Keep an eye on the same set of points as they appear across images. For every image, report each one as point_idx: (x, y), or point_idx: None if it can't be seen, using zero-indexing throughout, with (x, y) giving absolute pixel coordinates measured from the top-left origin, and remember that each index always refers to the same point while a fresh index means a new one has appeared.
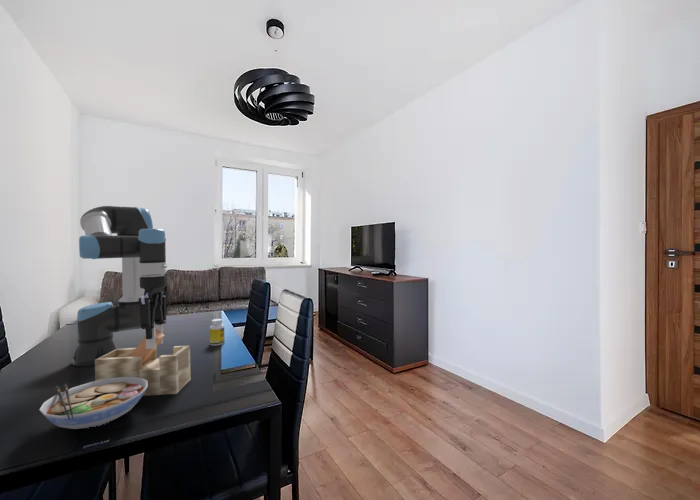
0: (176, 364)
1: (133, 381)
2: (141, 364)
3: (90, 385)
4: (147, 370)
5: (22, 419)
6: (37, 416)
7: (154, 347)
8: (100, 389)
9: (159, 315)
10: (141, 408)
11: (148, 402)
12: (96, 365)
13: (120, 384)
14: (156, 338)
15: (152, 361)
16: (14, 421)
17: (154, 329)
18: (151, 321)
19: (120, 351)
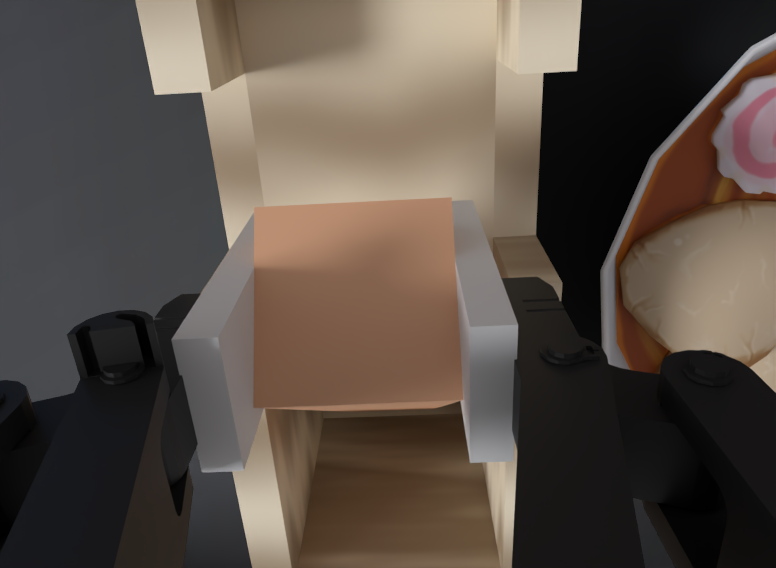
0: None
1: (639, 201)
2: (506, 252)
3: None
4: (538, 167)
5: (662, 551)
6: (648, 518)
7: (472, 207)
8: (753, 337)
9: (146, 522)
10: (698, 55)
11: (615, 57)
12: None
13: (667, 267)
14: (451, 234)
15: None
16: (673, 565)
17: (507, 314)
18: (619, 447)
19: (292, 547)
